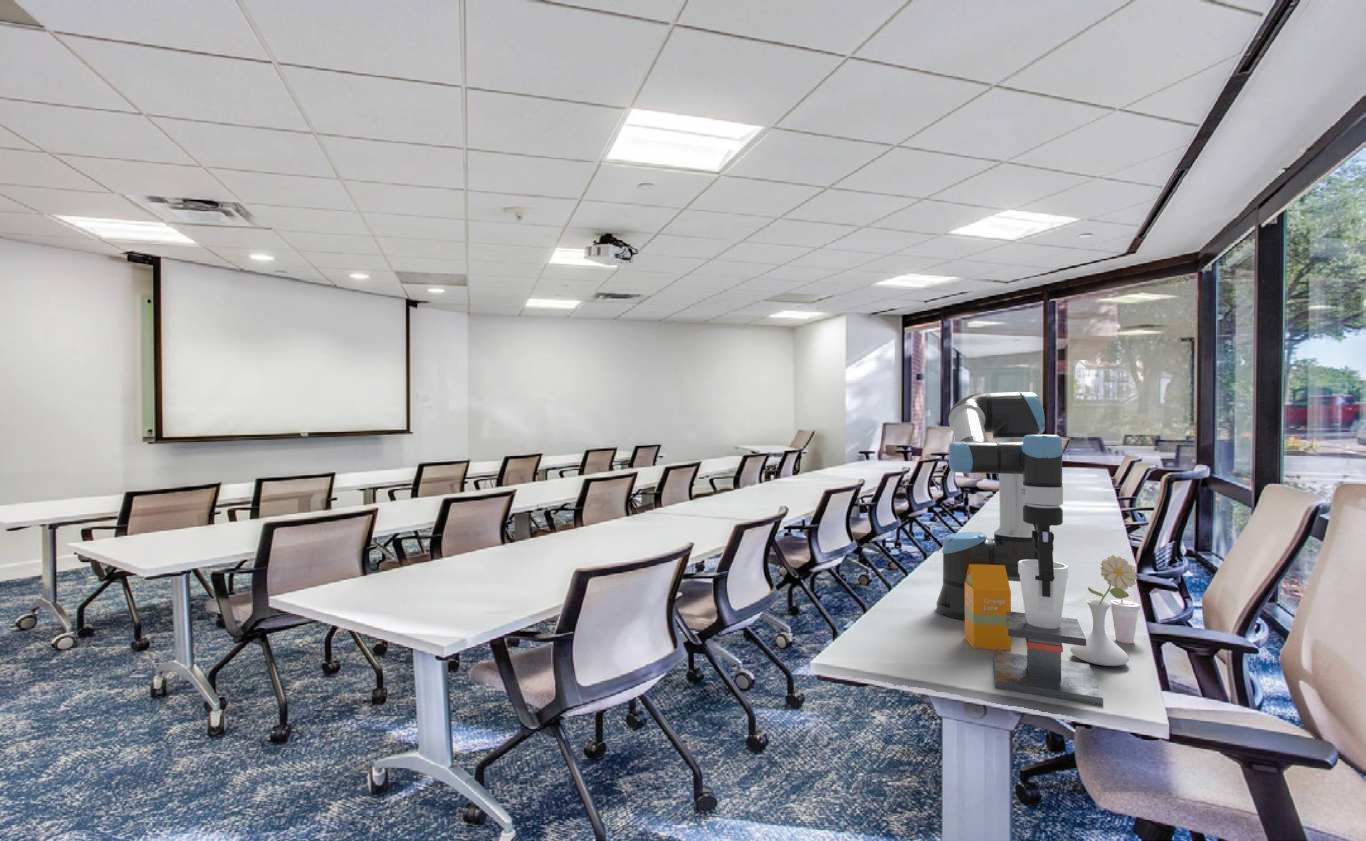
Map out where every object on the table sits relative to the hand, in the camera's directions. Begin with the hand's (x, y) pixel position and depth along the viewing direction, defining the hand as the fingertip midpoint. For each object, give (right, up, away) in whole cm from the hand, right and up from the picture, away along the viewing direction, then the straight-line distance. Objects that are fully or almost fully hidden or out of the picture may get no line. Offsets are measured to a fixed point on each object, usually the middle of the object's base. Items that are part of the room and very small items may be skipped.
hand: (1043, 602), depth 135 cm
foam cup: (0, -5, 0) cm, 5 cm away
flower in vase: (+20, -17, +9) cm, 27 cm away
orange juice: (-1, -17, +22) cm, 28 cm away
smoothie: (+34, -17, +23) cm, 45 cm away
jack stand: (0, -17, 0) cm, 17 cm away
